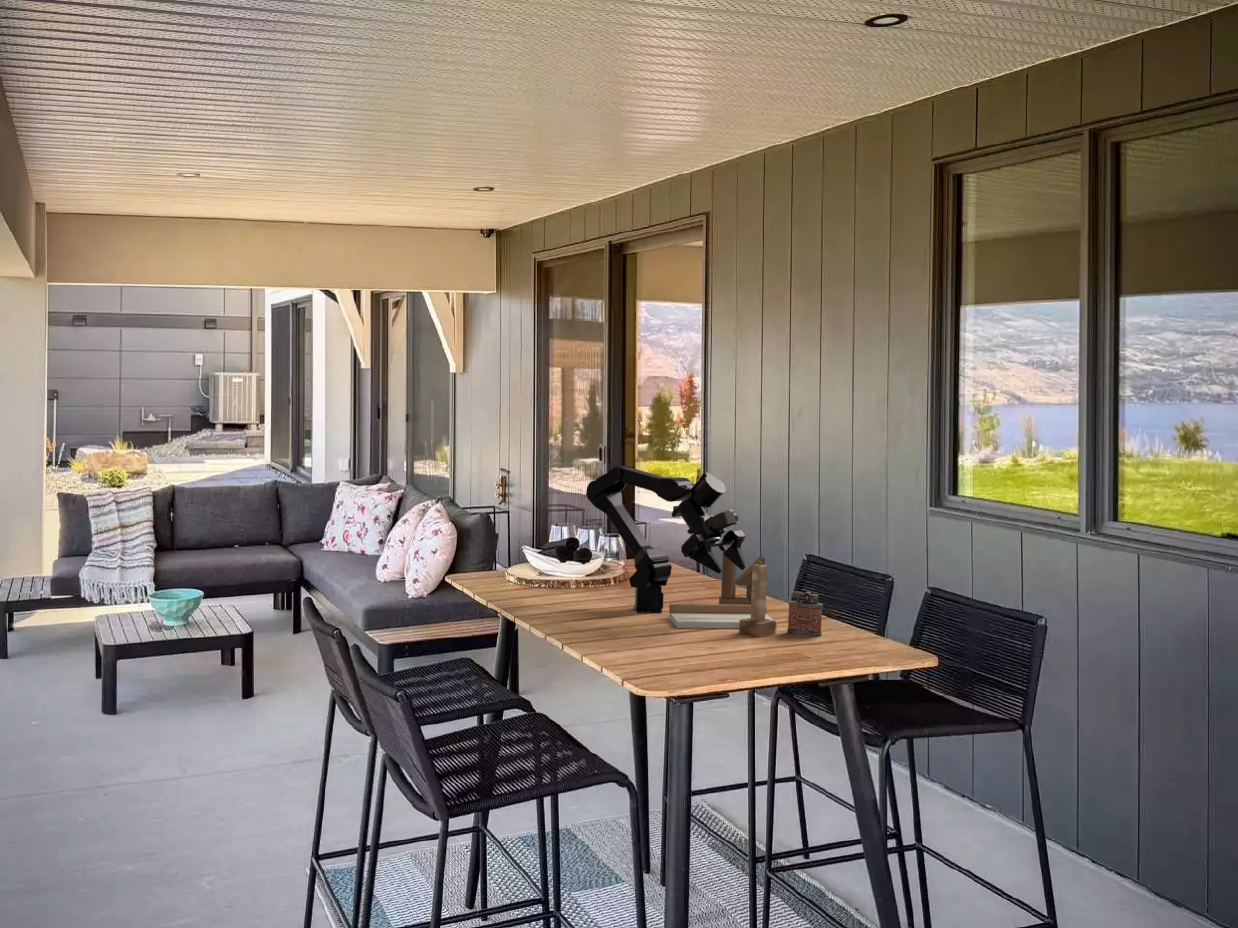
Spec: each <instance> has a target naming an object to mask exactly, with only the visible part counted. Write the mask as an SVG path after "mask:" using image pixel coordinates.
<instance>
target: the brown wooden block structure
mask: <svg viewBox="0 0 1238 928" xmlns="http://www.w3.org/2000/svg"><path fill="white" fill-rule="evenodd" d="M723 553H724V552H723V551H722V567H721V570H722V572H721V589H720V592H721V593H720V596H719V597H718V604H732V605H751V597H752V573H753V565H756V564H758V562H759V561H761V562H762V565H766V564H765V563H766V557H764V556H761V555H760V556H759V557H758V558H757V559H756V560H754V562H753V563H752V564H751V565H749V567H747V569H746V570H744V571H743V572H742V574H741V575H740V576H739V577H738V578H737V566H736V565H735V564H734V563H733V562H732V561H730V560H729V559H728V558H727V557H726V556H725V555H723ZM736 586H746V597H743V596H736V588H737V587H736Z"/></svg>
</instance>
